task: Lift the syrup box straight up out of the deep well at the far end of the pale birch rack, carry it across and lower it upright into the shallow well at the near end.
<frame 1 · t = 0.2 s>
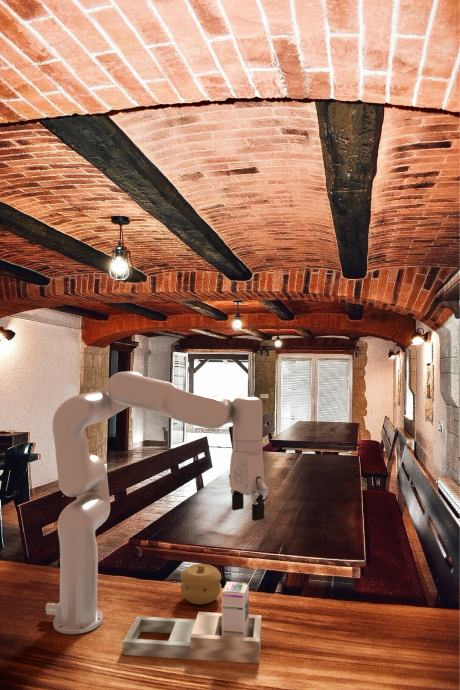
hand: (247, 514, 130), 30 cm above the table, tool pointing down, fingers open, 9 cm apart
rack: (194, 644, 125), on the table
beige rounded piece: (200, 600, 148), on the table
syrup box: (235, 648, 124), resting in rack
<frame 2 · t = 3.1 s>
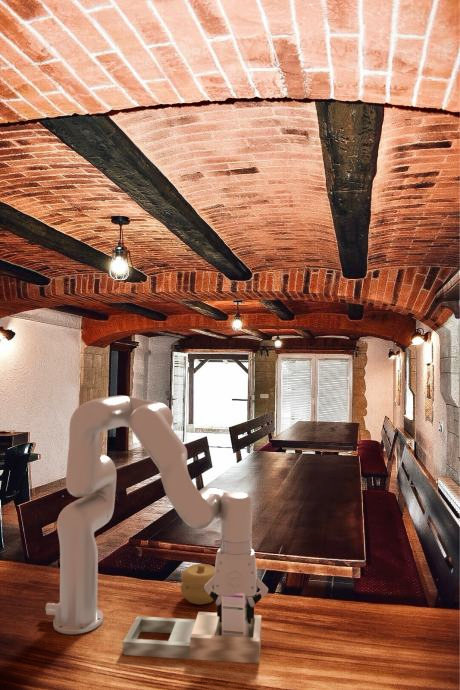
hand: (235, 619, 125), 7 cm above the table, tool pointing down, fingers closed on syrup box, 6 cm apart
syrup box: (235, 648, 124), resting in rack, touching gripper
everything else where it was.
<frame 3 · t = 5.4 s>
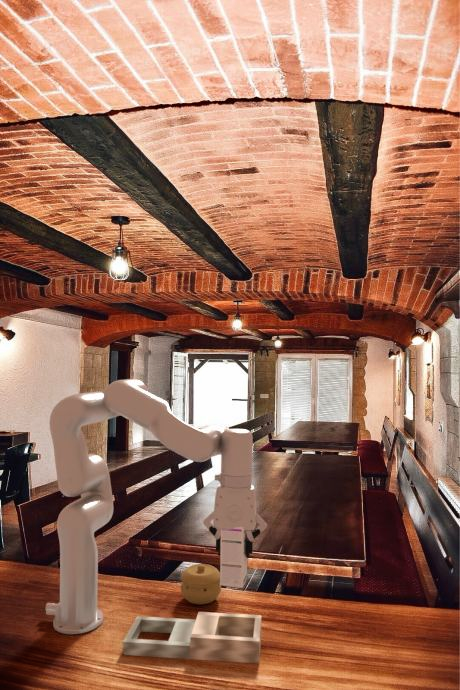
hand: (234, 554, 125), 22 cm above the table, tool pointing down, fingers closed on syrup box, 6 cm apart
syrup box: (233, 582, 125), point 15 cm above the table, touching gripper
everything else where it was.
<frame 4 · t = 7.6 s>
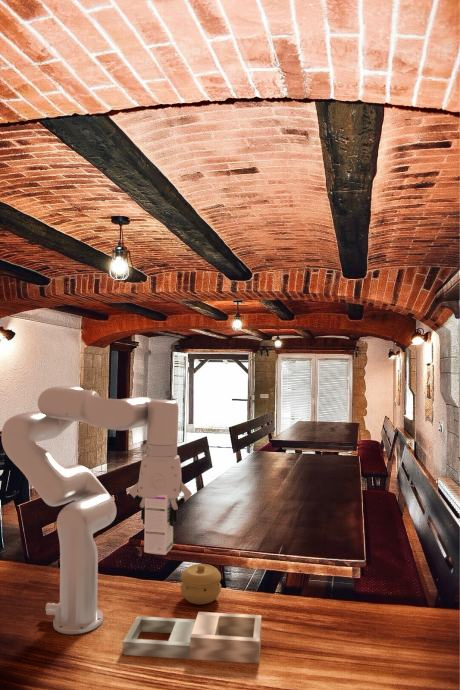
hand: (159, 522, 127), 29 cm above the table, tool pointing down, fingers closed on syrup box, 6 cm apart
syrup box: (158, 550, 127), point 22 cm above the table, touching gripper
everything else where it was.
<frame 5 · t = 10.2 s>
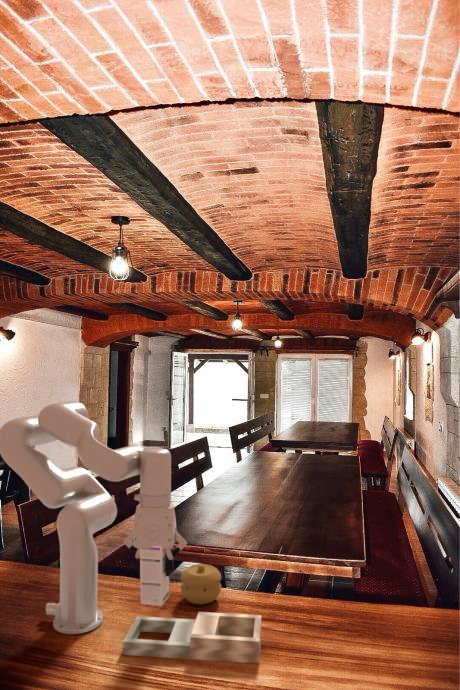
hand: (155, 572, 127), 17 cm above the table, tool pointing down, fingers closed on syrup box, 6 cm apart
syrup box: (154, 600, 126), point 10 cm above the table, touching gripper
everything else where it was.
when the fingers open (8 cm above the table, at t = 12.4 s): syrup box drops 1 cm, resting in rack.
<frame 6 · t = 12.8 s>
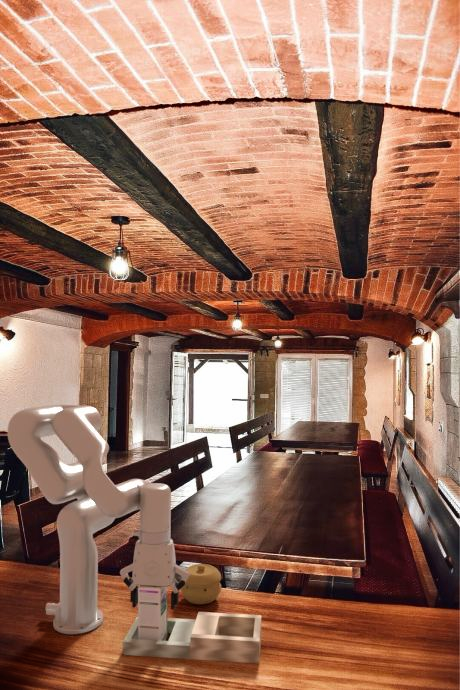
hand: (154, 605, 127), 9 cm above the table, tool pointing down, fingers open, 9 cm apart
syrup box: (152, 642, 126), resting in rack
everything else where it was.
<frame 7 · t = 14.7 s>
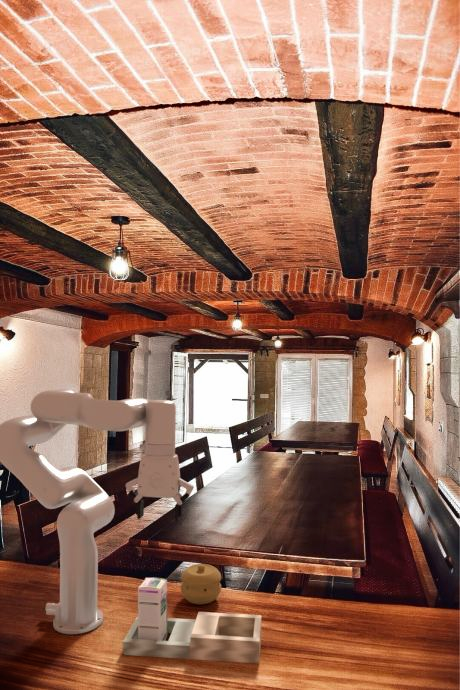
hand: (158, 518, 129), 29 cm above the table, tool pointing down, fingers open, 9 cm apart
nothing on the table moved.
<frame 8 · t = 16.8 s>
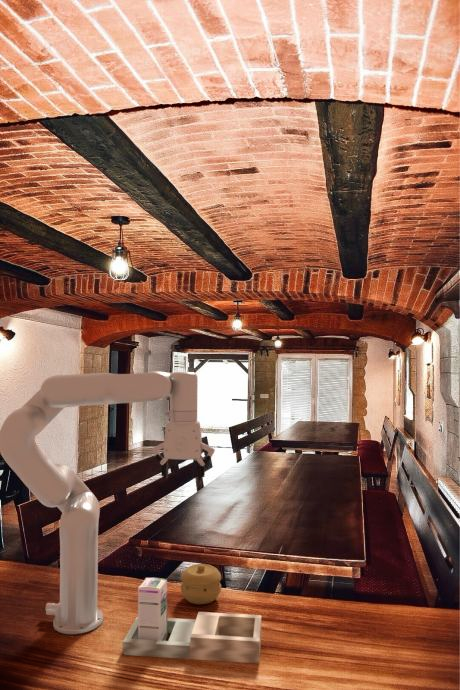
hand: (183, 479, 142), 36 cm above the table, tool pointing down, fingers open, 9 cm apart
nothing on the table moved.
at the end: syrup box 0.4 cm from the target spot on the rack, point 0.0 cm above the rack's base; syrup box tilted 0°; the gripper is holding nothing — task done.
